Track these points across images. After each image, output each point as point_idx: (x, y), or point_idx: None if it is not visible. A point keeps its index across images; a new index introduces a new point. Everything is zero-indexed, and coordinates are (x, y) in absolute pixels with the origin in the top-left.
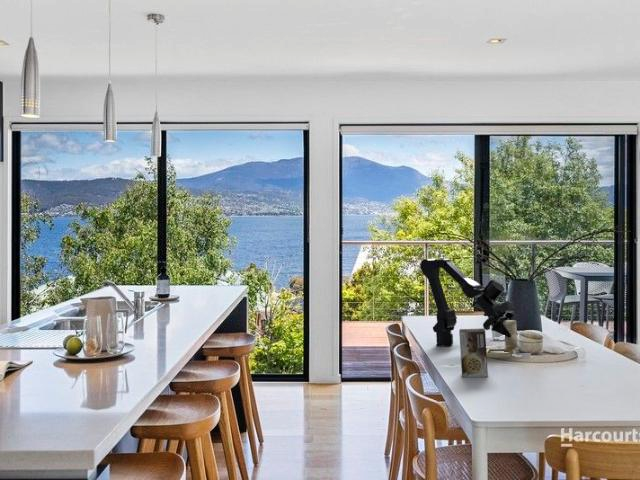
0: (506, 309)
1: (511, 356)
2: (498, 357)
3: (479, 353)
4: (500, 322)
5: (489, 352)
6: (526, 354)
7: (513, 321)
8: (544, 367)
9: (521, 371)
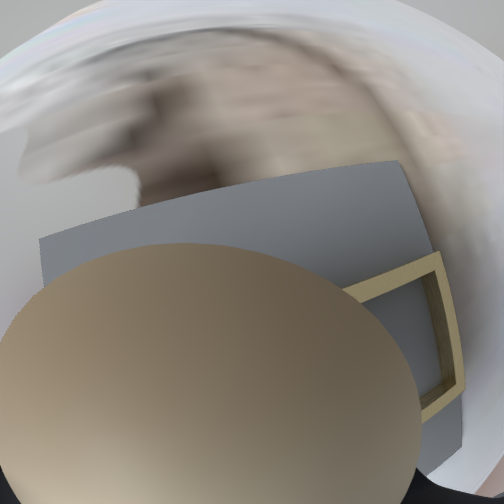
0: None
1: (401, 264)
2: None
3: None
4: (481, 501)
5: None
6: (314, 196)
7: (283, 329)
8: (439, 110)
9: (499, 170)
